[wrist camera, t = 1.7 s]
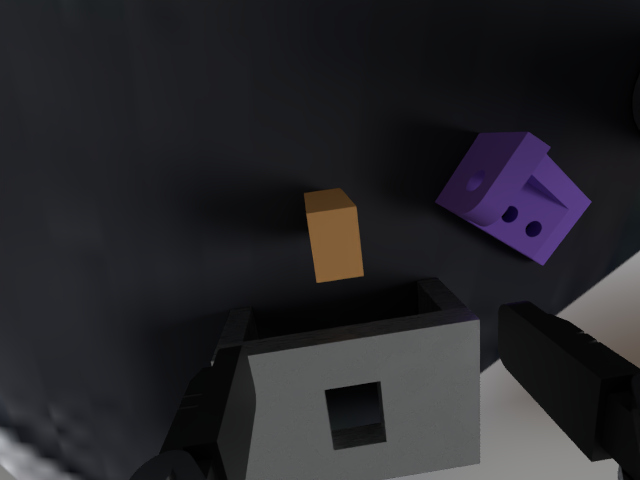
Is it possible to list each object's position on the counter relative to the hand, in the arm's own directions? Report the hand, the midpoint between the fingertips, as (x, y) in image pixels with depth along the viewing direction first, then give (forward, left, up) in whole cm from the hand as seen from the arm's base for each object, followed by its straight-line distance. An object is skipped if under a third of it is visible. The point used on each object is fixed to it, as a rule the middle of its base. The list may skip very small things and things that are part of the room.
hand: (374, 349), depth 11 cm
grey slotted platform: (0, +15, -21) cm, 26 cm away
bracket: (-17, +1, -21) cm, 27 cm away
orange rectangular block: (0, 0, -21) cm, 21 cm away
